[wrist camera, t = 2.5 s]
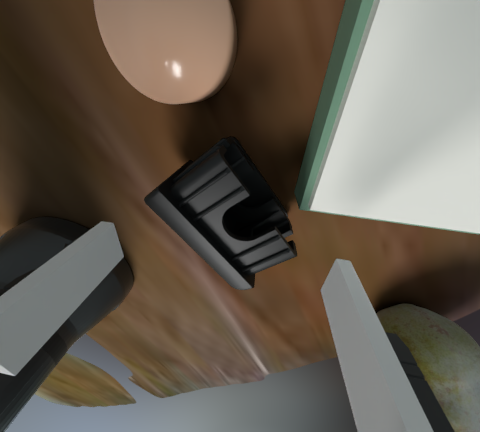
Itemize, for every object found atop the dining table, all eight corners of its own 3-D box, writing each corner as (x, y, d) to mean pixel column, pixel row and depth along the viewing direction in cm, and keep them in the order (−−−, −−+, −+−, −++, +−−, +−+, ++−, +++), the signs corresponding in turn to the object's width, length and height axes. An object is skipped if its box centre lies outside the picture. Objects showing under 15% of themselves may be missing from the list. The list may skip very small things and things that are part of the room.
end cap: (170, 175, 18) (125, 212, 12) (229, 127, 15) (207, 146, 10) (234, 246, 22) (223, 300, 16) (291, 218, 19) (302, 271, 13)
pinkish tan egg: (143, 97, 15) (113, 97, 12) (123, -45, 11) (71, -95, 8) (233, 107, 15) (225, 110, 12) (243, -35, 11) (234, -84, 8)
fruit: (338, 316, 26) (384, 457, 16) (400, 276, 21) (524, 443, 11) (395, 342, 28) (470, 486, 17) (465, 311, 23) (624, 484, 13)
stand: (294, 191, 17) (301, 215, 14) (353, -28, 10) (394, -87, 7) (445, 212, 17) (489, 241, 13) (613, -6, 10) (793, -59, 6)
